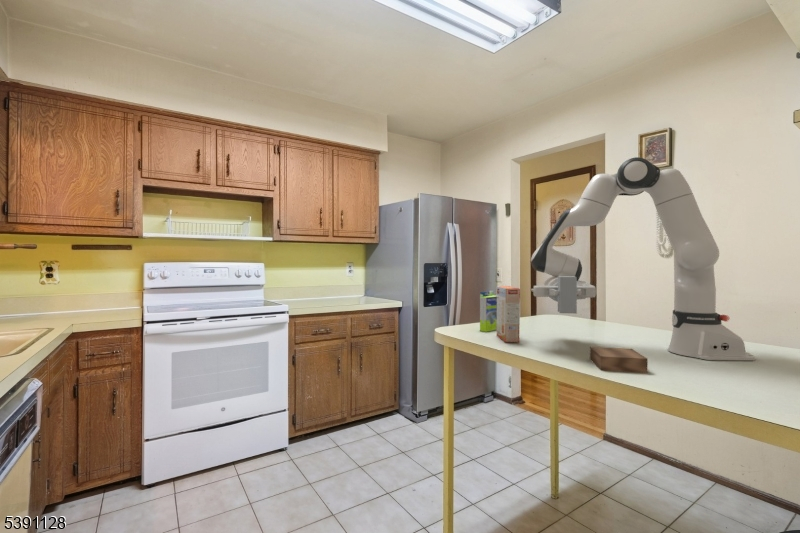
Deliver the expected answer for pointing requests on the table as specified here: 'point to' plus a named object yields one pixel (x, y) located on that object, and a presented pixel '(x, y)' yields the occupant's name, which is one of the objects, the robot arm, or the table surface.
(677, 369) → the table surface
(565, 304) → the grey block
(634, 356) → the walnut block
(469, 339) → the table surface
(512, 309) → the cracker box
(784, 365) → the table surface
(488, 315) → the box
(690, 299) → the robot arm
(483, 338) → the table surface
